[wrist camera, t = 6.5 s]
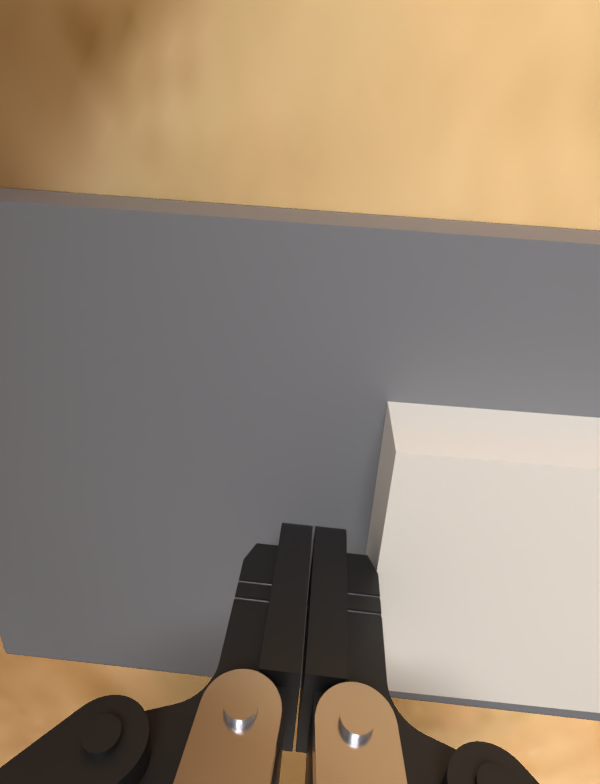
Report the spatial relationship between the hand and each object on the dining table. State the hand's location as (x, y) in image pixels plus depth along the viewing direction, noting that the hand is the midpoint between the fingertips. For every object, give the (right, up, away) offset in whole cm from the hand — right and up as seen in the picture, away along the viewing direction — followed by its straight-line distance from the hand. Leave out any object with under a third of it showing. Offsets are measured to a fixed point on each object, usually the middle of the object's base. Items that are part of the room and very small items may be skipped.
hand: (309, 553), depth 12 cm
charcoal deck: (+1, +2, +3) cm, 3 cm away
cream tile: (+6, 0, 0) cm, 6 cm away
